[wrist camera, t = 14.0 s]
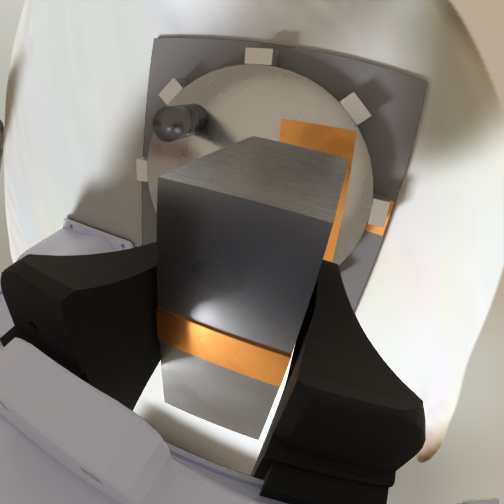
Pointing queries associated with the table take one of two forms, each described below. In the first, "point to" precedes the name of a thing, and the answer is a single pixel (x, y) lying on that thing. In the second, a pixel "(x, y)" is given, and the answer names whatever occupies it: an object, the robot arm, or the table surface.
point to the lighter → (1, 141)
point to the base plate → (335, 82)
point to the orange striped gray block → (239, 273)
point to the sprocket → (268, 132)
